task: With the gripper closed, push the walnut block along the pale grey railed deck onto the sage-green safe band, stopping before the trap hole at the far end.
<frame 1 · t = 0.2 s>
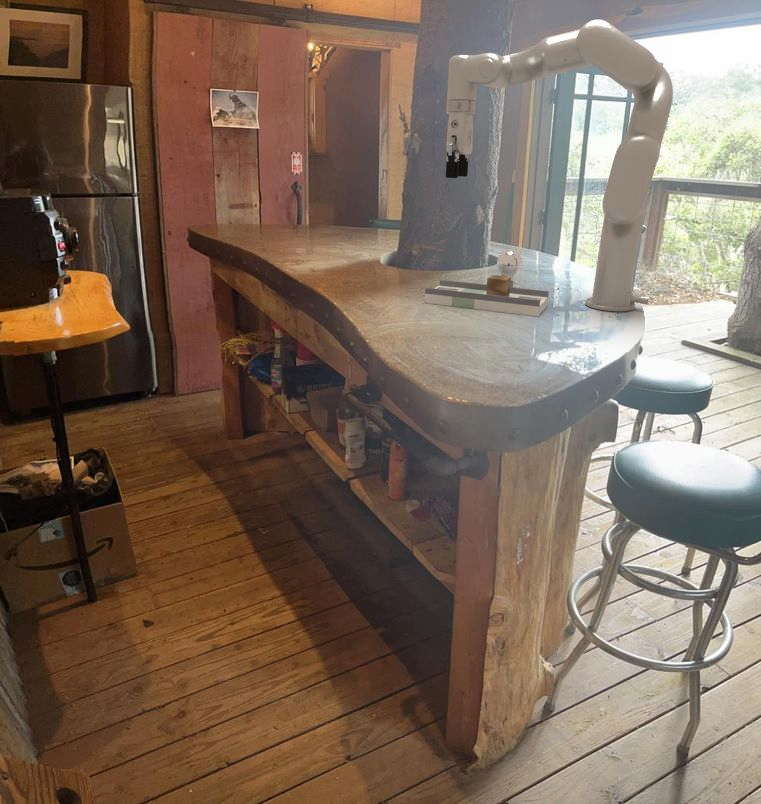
hand: (456, 177, 177), 31 cm above the table, fingers open, 9 cm apart
light bulb: (506, 291, 188), on the table
walnut block: (497, 296, 170), point 2 cm above the table, touching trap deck
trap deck: (485, 304, 172), on the table
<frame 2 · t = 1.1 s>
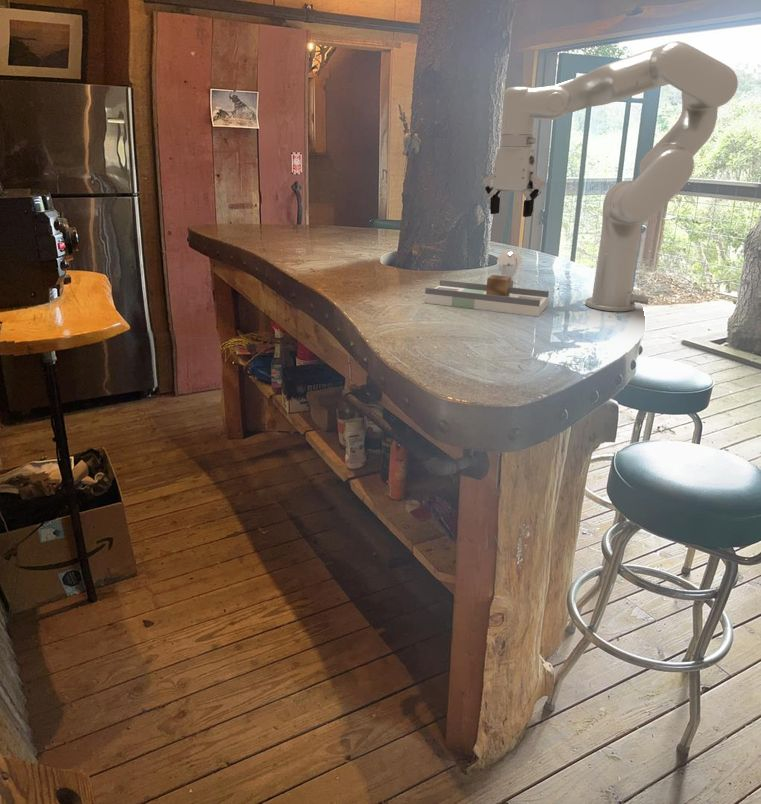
hand: (510, 215, 165), 23 cm above the table, fingers open, 9 cm apart
nothing on the table moved.
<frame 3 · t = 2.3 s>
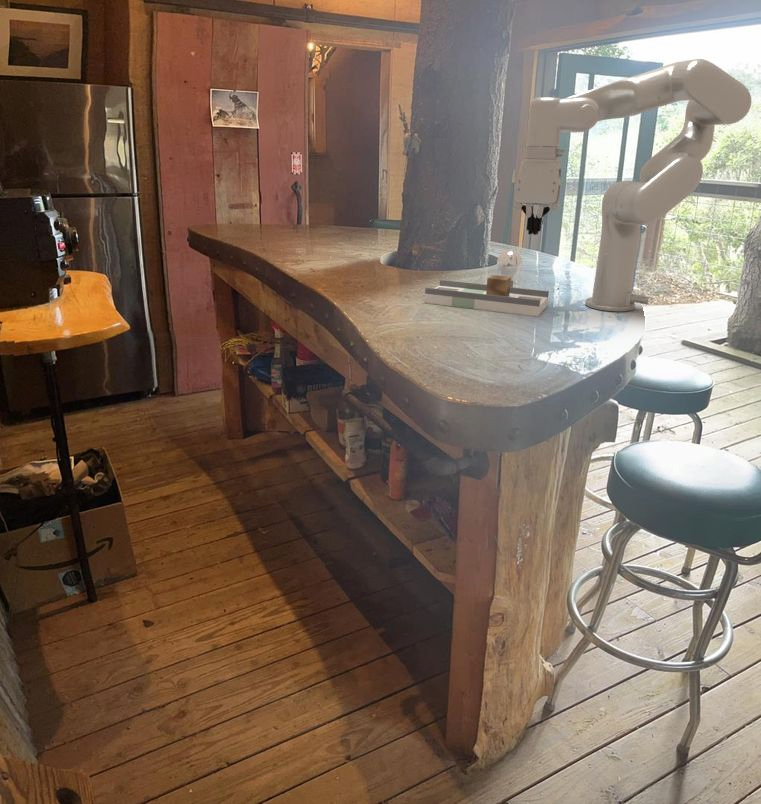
hand: (533, 233, 161), 19 cm above the table, fingers closed
nothing on the table moved.
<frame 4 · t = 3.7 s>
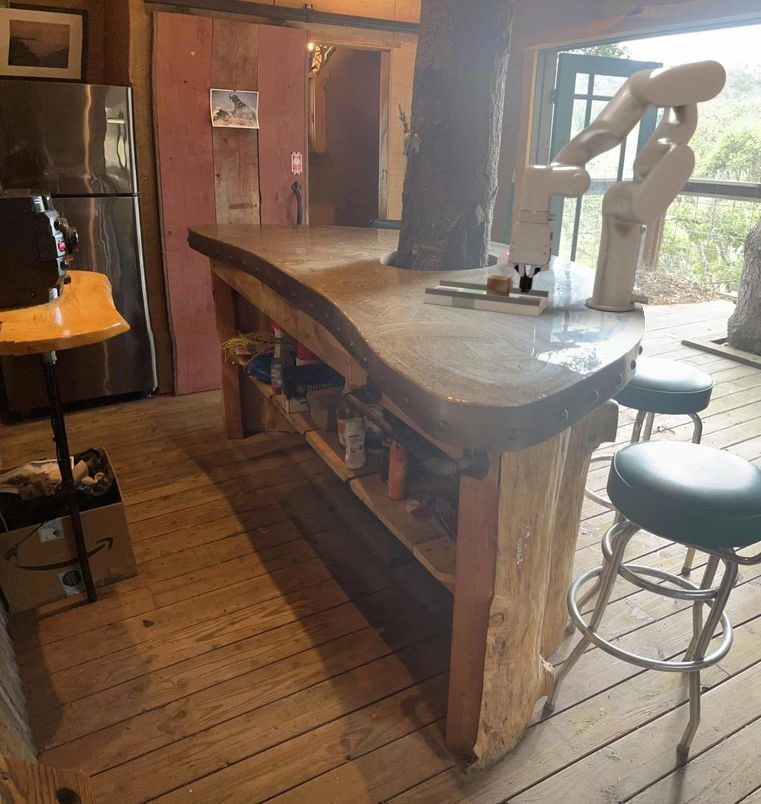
hand: (524, 291, 166), 5 cm above the table, fingers closed
nothing on the table moved.
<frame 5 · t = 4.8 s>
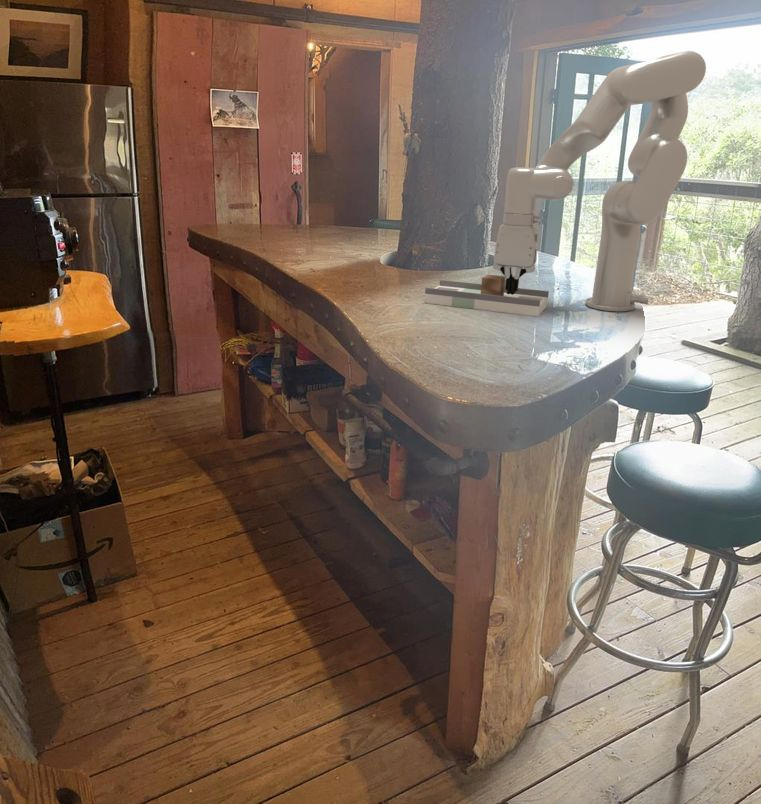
hand: (511, 293, 168), 4 cm above the table, fingers closed
walnut block: (492, 295, 170), point 2 cm above the table, touching gripper, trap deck
everything else where it was.
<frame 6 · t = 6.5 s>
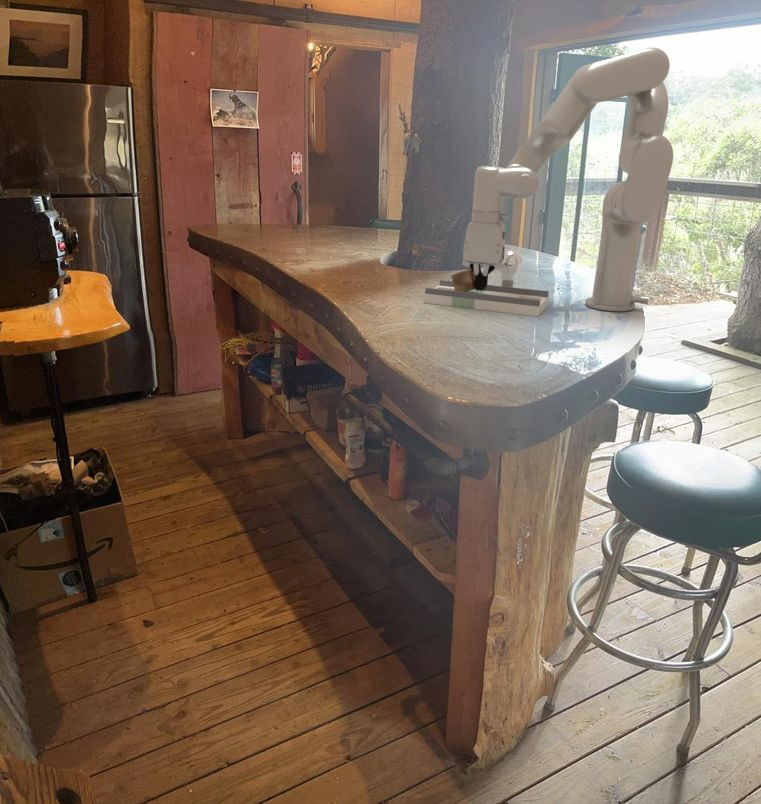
hand: (480, 289, 171), 4 cm above the table, fingers closed
walnut block: (467, 289, 173), point 3 cm above the table, tilted 19°, touching gripper, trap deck
everything else where it was.
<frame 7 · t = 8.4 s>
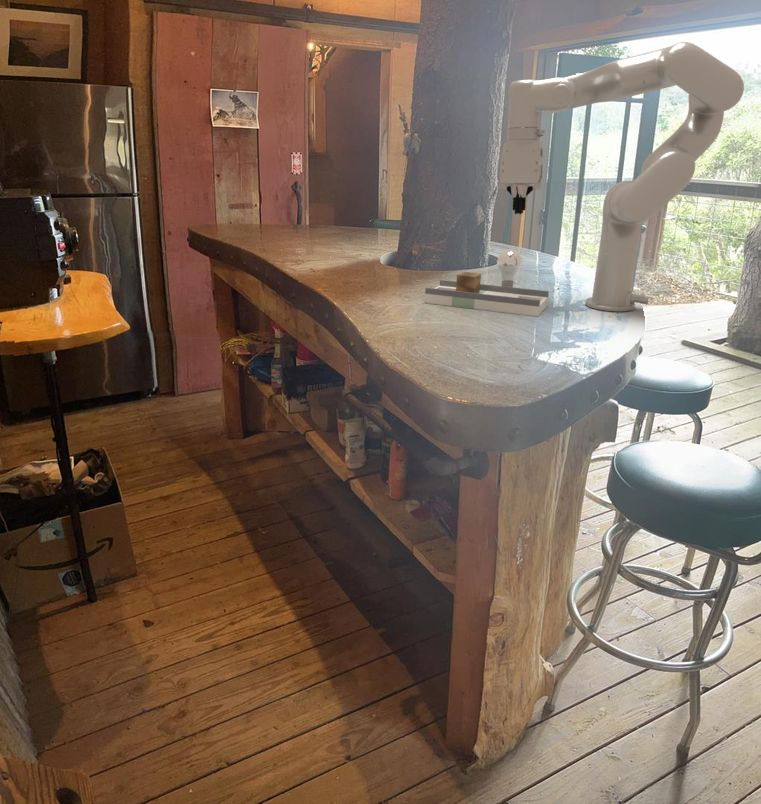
hand: (518, 213, 166), 23 cm above the table, fingers closed
walnut block: (467, 293, 173), point 2 cm above the table, touching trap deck
everything else where it was.
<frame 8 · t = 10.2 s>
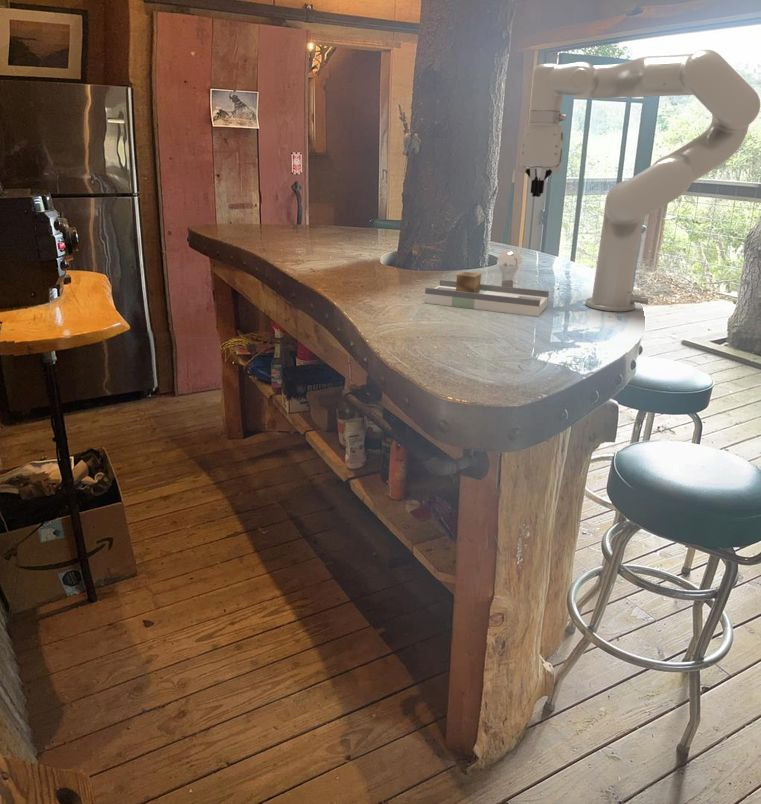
hand: (536, 196, 169), 27 cm above the table, fingers closed
nothing on the table moved.
at the end: walnut block inside the target area on the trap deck (0.7 cm from its centre), point 2.5 cm above the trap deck's base; walnut block tilted 0° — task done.
